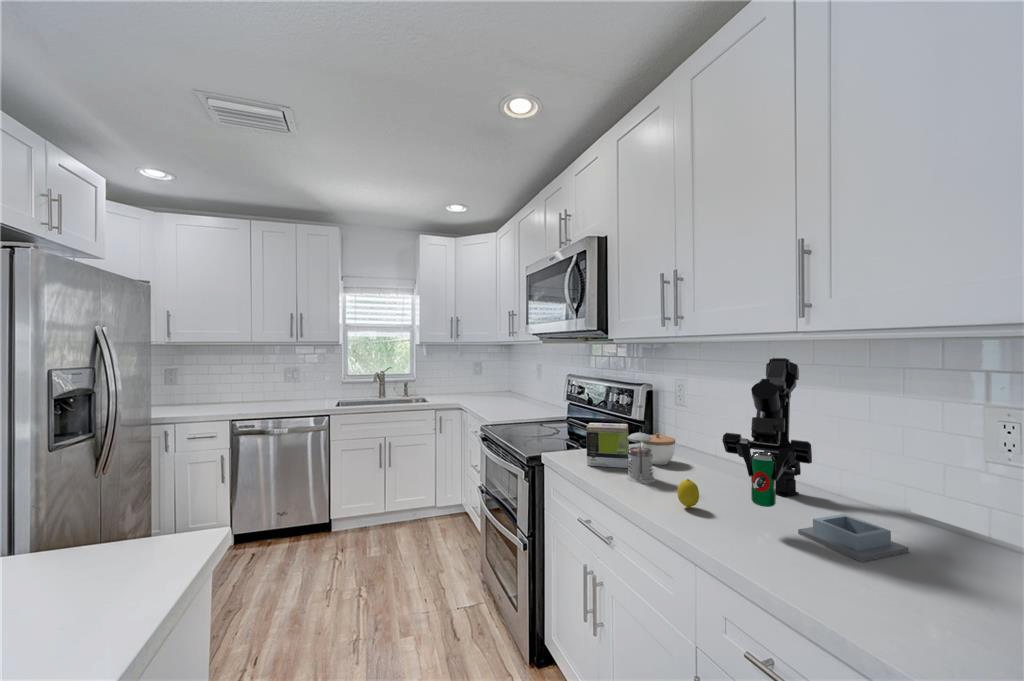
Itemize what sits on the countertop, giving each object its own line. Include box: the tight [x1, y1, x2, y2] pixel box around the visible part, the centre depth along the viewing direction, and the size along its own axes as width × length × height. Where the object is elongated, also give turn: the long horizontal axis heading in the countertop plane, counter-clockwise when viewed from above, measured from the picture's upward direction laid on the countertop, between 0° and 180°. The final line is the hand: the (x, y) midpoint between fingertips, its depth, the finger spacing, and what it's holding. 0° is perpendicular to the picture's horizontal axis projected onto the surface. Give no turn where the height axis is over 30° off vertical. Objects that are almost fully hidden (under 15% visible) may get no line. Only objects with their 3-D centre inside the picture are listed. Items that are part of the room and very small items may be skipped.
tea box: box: [585, 422, 630, 469], centre depth 162 cm, size 15×10×15 cm
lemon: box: [676, 478, 700, 509], centre depth 118 cm, size 6×6×8 cm
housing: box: [797, 513, 910, 563], centre depth 97 cm, size 14×14×4 cm
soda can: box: [750, 451, 777, 508], centre depth 103 cm, size 5×5×12 cm
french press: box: [624, 403, 657, 484], centre depth 144 cm, size 10×12×25 cm
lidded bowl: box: [641, 432, 676, 466], centre depth 164 cm, size 13×13×11 cm
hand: (762, 477), depth 102 cm, fingers closed on soda can, 5 cm apart
